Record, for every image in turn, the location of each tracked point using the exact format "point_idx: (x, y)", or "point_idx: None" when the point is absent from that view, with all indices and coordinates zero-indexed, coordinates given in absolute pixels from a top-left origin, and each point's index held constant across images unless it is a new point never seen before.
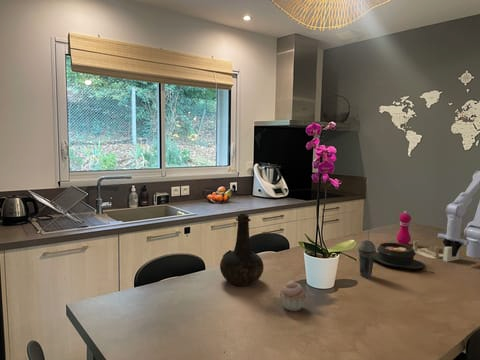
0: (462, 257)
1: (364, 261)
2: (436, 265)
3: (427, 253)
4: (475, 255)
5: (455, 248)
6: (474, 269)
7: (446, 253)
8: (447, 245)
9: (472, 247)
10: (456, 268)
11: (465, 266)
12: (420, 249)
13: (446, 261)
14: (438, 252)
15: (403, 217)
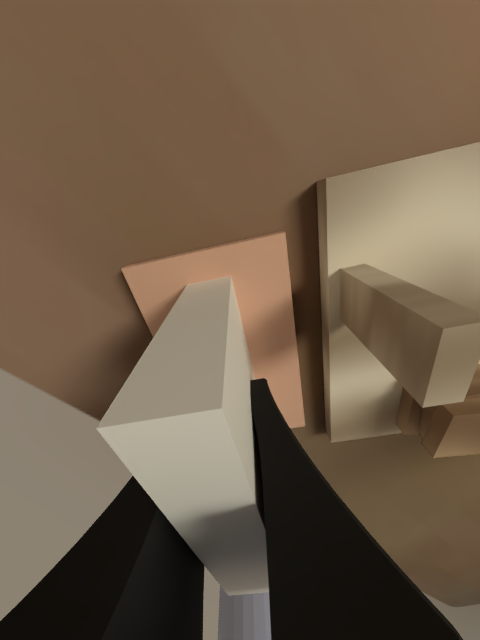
0: None
1: None
2: (135, 76)
3: (477, 290)
4: None
5: (96, 529)
6: (48, 389)
7: (173, 333)
8: (265, 529)
9: (254, 598)
10: (46, 268)
11: (115, 378)
12: None
13: (188, 287)
14: (366, 343)
15: None
